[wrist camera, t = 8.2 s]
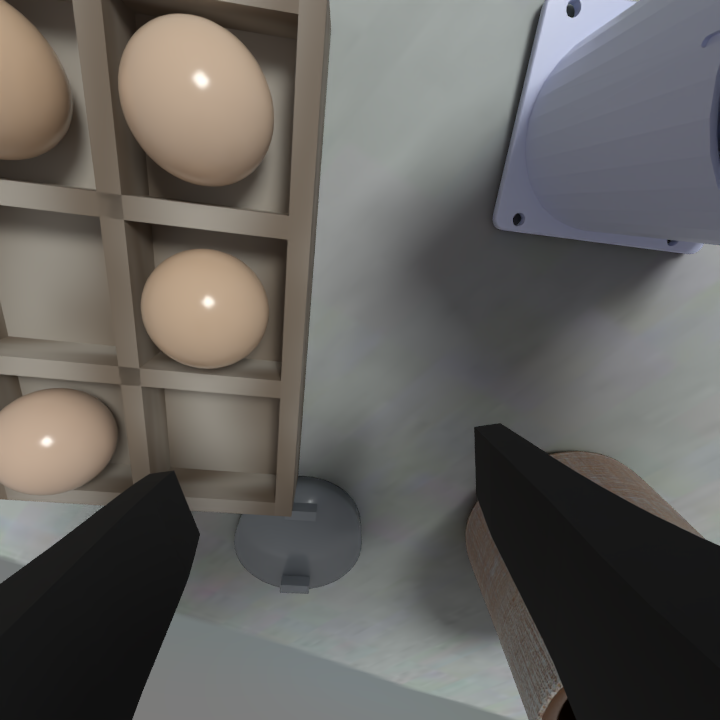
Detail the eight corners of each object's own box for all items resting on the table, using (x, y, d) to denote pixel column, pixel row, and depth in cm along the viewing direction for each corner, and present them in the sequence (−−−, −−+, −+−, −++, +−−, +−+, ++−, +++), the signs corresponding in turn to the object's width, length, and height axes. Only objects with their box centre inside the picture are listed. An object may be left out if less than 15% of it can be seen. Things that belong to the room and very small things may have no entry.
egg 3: (286, 59, 13) (261, -5, 9) (280, 196, 15) (257, 193, 11) (154, 38, 13) (68, -39, 9) (164, 181, 14) (94, 172, 10)
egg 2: (131, 375, 17) (67, 428, 13) (140, 455, 19) (85, 523, 15) (29, 367, 17) (-69, 417, 13) (47, 448, 19) (-35, 516, 15)
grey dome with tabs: (367, 480, 22) (369, 508, 20) (353, 569, 24) (354, 601, 22) (241, 472, 21) (230, 499, 19) (240, 564, 24) (231, 596, 22)
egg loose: (297, 287, 16) (283, 316, 12) (241, 363, 17) (212, 411, 13) (205, 219, 15) (156, 225, 11) (152, 304, 16) (90, 339, 12)
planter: (677, 484, 23) (892, 664, 14) (563, 599, 26) (676, 802, 17) (531, 415, 20) (676, 578, 12) (428, 552, 24) (478, 757, 15)
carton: (331, 28, 14) (327, -16, 11) (298, 475, 21) (291, 516, 18) (-79, -41, 13) (-198, -110, 10) (38, 457, 20) (-12, 498, 17)
